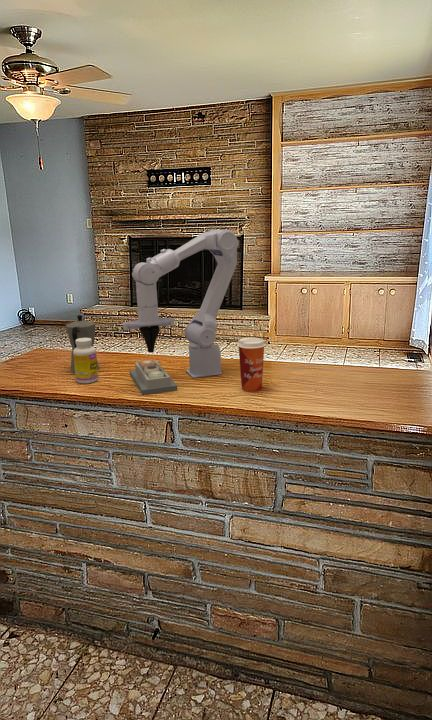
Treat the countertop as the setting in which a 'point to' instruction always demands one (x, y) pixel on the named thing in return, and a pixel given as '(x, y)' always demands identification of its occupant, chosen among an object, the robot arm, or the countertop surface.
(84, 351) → the supplement bottle
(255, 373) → the paper cup
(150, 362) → the terracotta button
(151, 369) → the ivory button
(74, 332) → the coffeepot
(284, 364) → the countertop surface
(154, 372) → the sage button
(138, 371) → the button board
